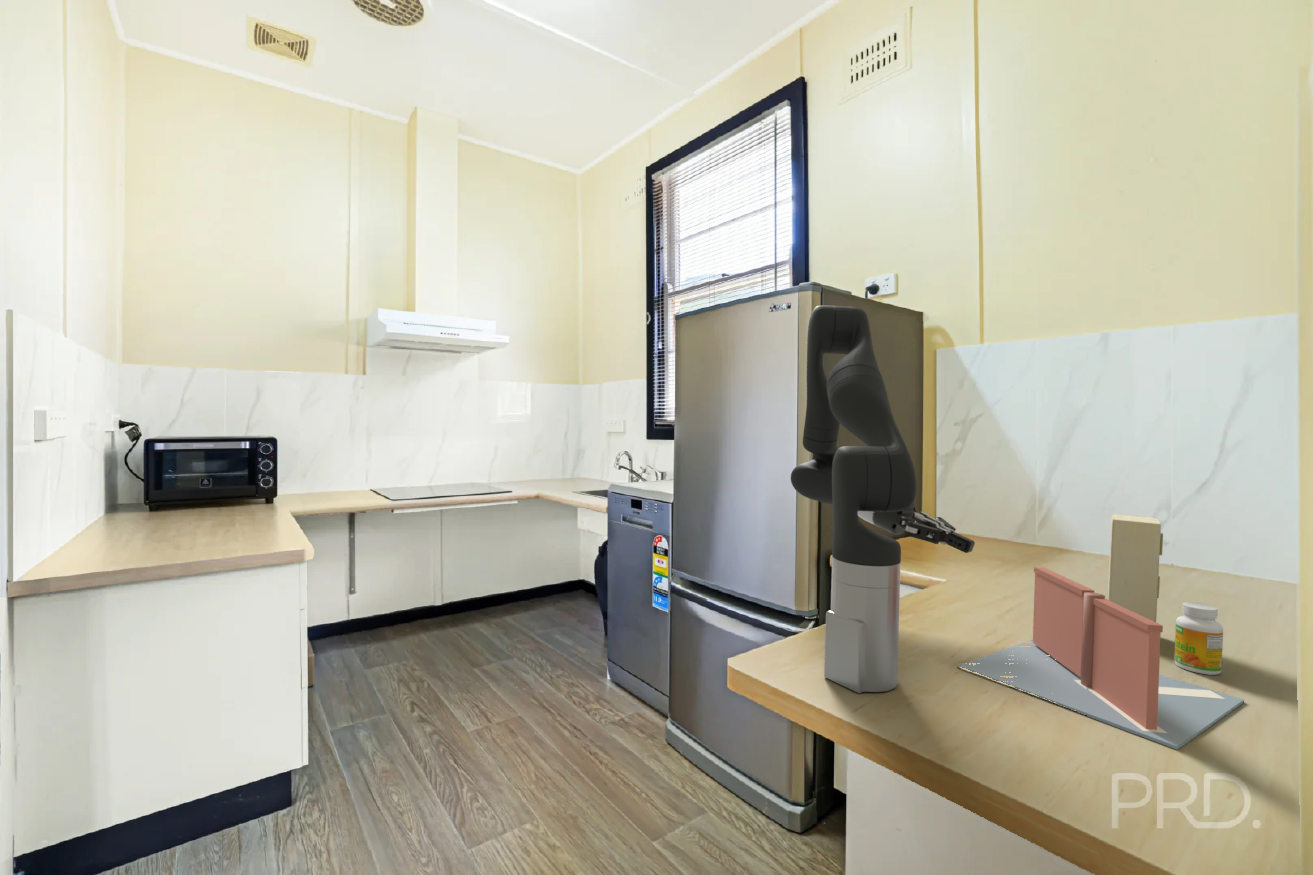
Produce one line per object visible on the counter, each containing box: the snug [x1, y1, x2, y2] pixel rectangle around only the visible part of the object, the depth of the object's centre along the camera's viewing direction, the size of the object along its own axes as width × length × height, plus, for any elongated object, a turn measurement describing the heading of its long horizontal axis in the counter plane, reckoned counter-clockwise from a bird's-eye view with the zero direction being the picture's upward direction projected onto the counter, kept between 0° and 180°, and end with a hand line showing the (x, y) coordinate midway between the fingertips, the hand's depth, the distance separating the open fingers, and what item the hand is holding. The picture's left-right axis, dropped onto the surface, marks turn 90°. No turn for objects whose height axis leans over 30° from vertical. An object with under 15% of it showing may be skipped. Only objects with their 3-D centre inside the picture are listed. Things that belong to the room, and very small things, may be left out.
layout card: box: [957, 639, 1245, 751], centre depth 85 cm, size 24×26×1 cm
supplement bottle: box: [1173, 601, 1224, 676], centre depth 91 cm, size 5×5×10 cm
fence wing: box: [1032, 566, 1095, 678], centre depth 91 cm, size 14×2×13 cm, turn 172°
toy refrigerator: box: [1107, 514, 1164, 623], centre depth 104 cm, size 8×7×21 cm
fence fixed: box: [1081, 592, 1164, 730], centre depth 78 cm, size 14×2×13 cm, turn 172°
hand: (971, 547), depth 102 cm, fingers closed
